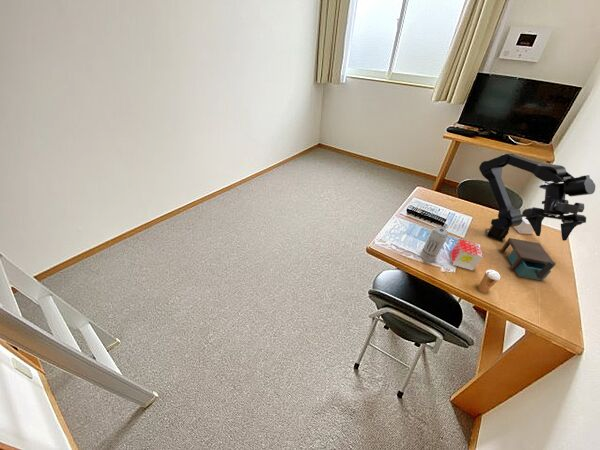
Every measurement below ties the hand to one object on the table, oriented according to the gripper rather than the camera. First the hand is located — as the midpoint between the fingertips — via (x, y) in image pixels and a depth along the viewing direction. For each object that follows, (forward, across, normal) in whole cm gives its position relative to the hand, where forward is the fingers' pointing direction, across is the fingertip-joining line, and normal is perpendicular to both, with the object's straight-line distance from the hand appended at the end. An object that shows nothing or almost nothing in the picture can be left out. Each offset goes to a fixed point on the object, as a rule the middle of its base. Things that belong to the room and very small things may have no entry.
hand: (551, 238), depth 102 cm
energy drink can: (+15, -40, +9) cm, 44 cm away
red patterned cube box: (+14, -26, +11) cm, 31 cm away
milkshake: (+24, -22, +1) cm, 33 cm away
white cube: (-9, +12, +34) cm, 37 cm away
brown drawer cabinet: (+10, 0, +15) cm, 18 cm away
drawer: (+13, 0, +11) cm, 17 cm away
